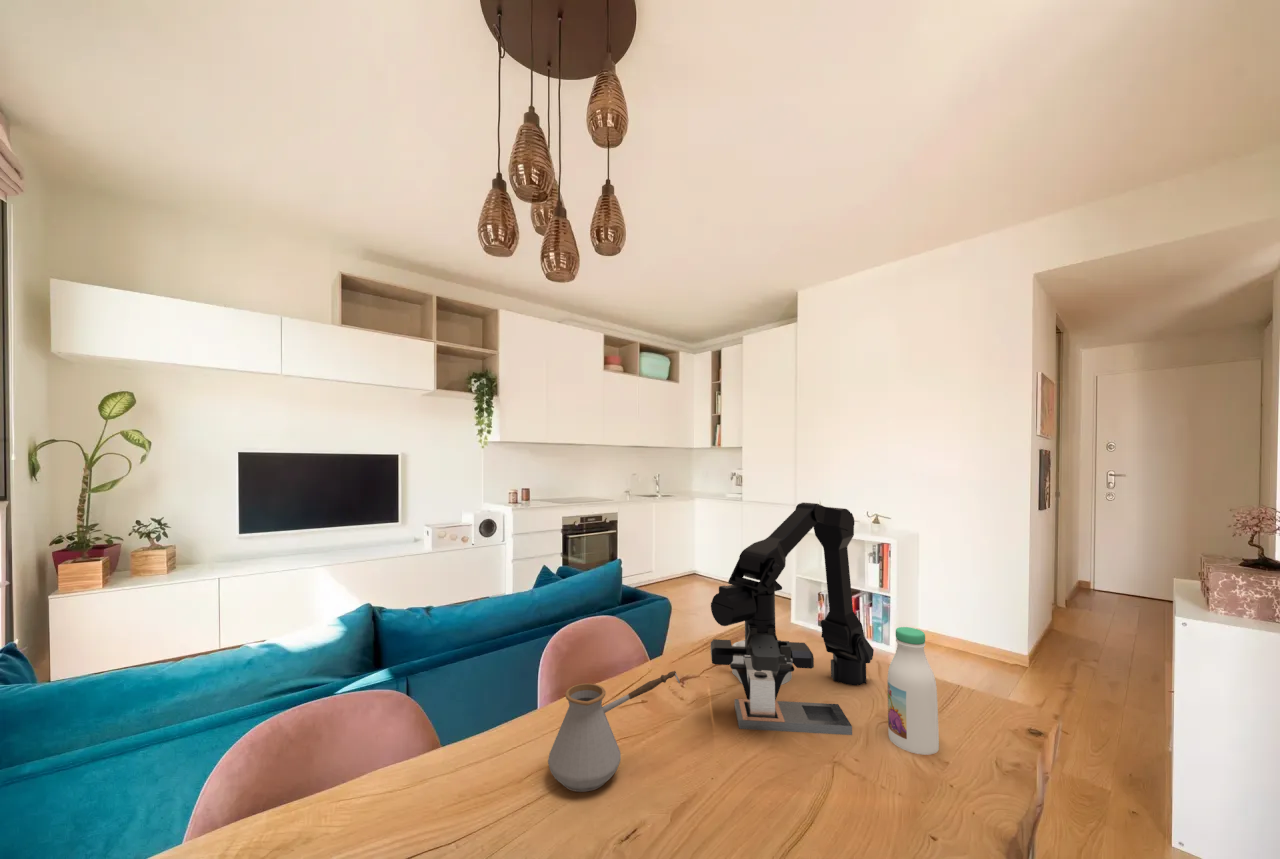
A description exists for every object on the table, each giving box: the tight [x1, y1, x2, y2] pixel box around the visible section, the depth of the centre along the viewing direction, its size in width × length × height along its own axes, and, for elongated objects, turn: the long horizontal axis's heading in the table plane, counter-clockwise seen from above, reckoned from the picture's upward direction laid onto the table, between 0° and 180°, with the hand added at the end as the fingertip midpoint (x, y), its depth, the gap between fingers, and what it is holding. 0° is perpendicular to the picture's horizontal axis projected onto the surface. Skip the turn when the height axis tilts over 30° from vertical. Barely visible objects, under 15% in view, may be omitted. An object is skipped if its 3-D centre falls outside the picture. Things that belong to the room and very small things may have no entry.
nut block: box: [747, 670, 776, 718], centre depth 93 cm, size 4×4×7 cm
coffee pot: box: [547, 670, 681, 793], centre depth 79 cm, size 21×12×15 cm, turn 101°
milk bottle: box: [887, 626, 940, 756], centre depth 86 cm, size 8×8×20 cm
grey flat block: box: [734, 698, 853, 736], centre depth 93 cm, size 20×8×3 cm, turn 85°
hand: (760, 699), depth 93 cm, fingers closed on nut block, 4 cm apart
